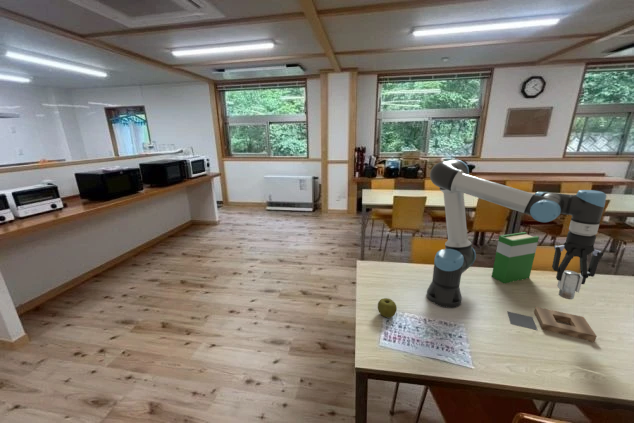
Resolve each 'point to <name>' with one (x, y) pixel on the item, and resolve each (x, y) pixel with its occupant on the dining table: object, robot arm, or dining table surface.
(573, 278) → the brushed steel cylinder
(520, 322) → the pad
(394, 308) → the apple
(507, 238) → the hardback book
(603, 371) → the dining table surface
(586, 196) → the robot arm
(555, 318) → the jig
